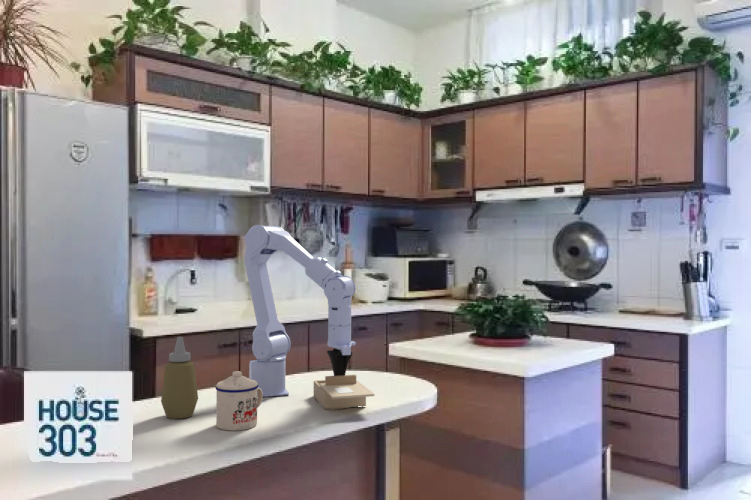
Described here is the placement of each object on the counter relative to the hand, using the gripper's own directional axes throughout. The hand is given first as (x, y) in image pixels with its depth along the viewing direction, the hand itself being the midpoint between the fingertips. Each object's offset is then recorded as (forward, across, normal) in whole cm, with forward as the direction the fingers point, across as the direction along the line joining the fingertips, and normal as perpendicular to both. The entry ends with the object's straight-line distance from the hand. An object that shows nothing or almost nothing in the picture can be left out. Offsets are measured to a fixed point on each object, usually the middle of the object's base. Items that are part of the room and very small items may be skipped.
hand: (339, 379), depth 158 cm
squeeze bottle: (+6, -3, +38) cm, 39 cm away
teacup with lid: (+6, -13, +25) cm, 29 cm away
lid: (+1, -7, 0) cm, 7 cm away
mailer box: (+6, 0, 0) cm, 6 cm away
